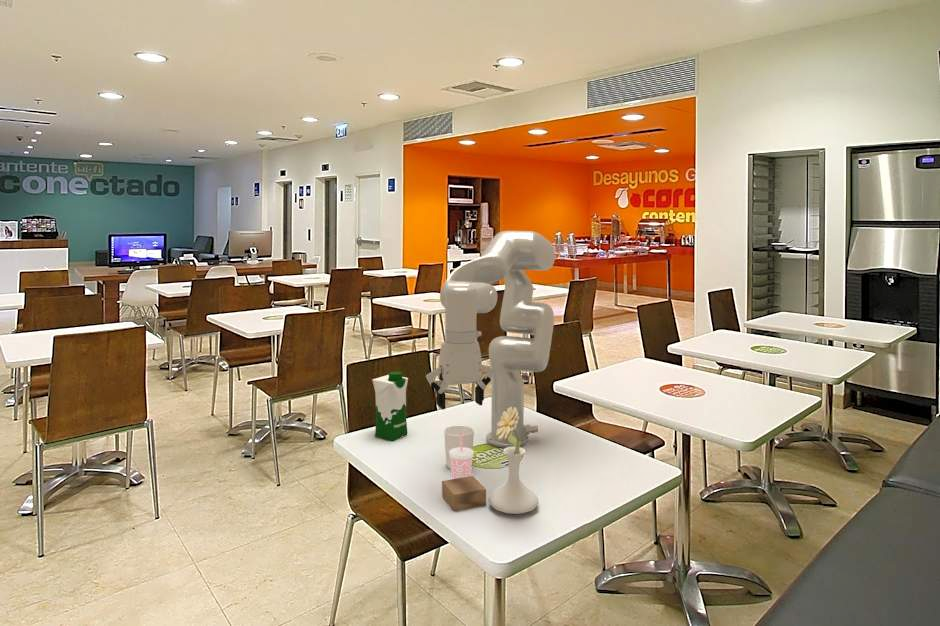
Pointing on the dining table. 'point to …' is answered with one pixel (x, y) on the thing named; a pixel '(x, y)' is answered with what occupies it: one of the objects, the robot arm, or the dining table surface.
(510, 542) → the dining table surface
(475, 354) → the robot arm
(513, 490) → the flower in vase
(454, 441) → the white cup
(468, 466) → the beverage cup
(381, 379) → the milk carton
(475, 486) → the riser
